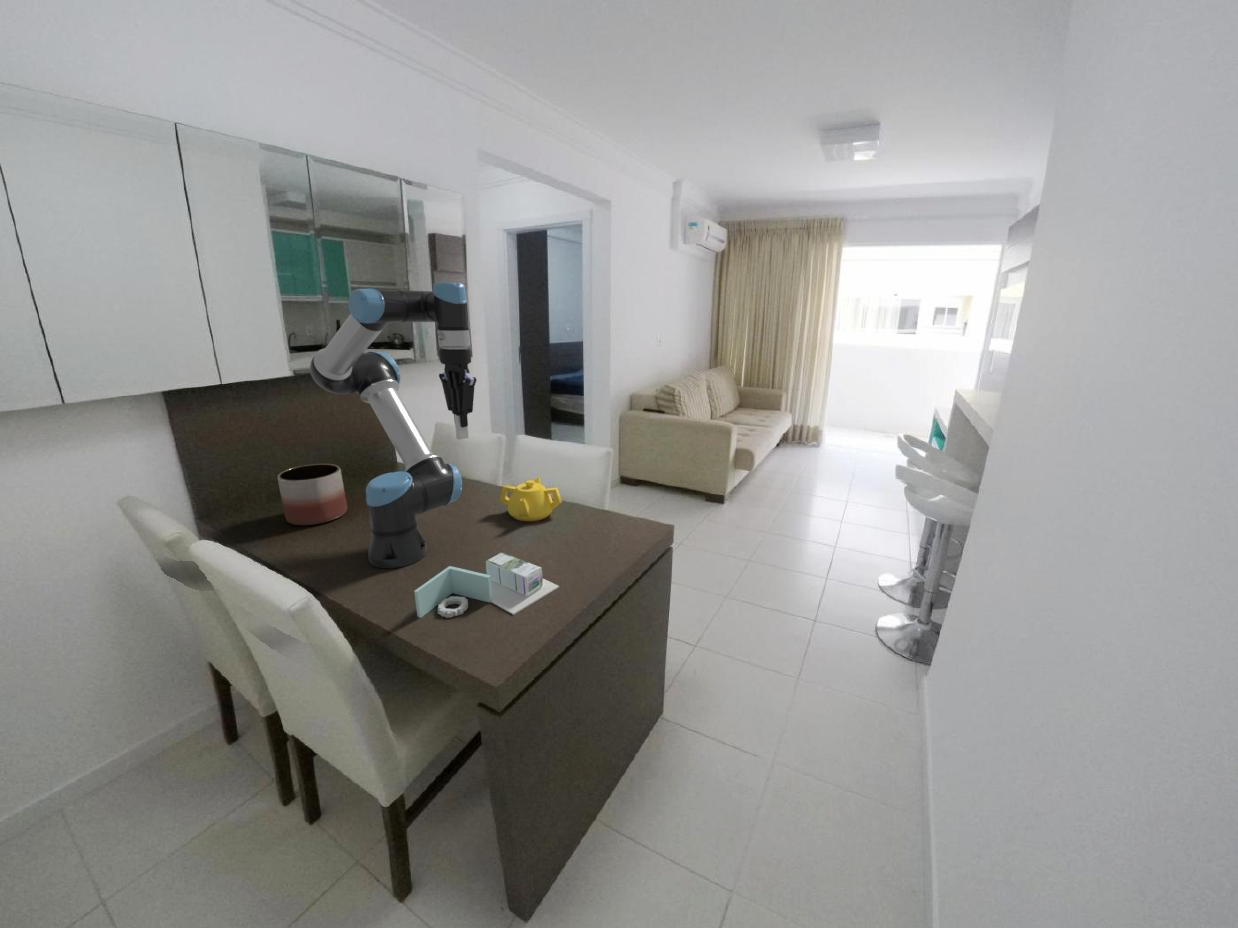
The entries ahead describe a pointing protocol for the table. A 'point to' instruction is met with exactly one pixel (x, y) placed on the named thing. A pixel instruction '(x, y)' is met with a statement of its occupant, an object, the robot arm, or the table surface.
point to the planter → (312, 494)
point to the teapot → (530, 500)
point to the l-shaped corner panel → (452, 591)
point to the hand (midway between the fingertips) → (462, 438)
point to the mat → (518, 596)
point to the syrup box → (514, 573)
